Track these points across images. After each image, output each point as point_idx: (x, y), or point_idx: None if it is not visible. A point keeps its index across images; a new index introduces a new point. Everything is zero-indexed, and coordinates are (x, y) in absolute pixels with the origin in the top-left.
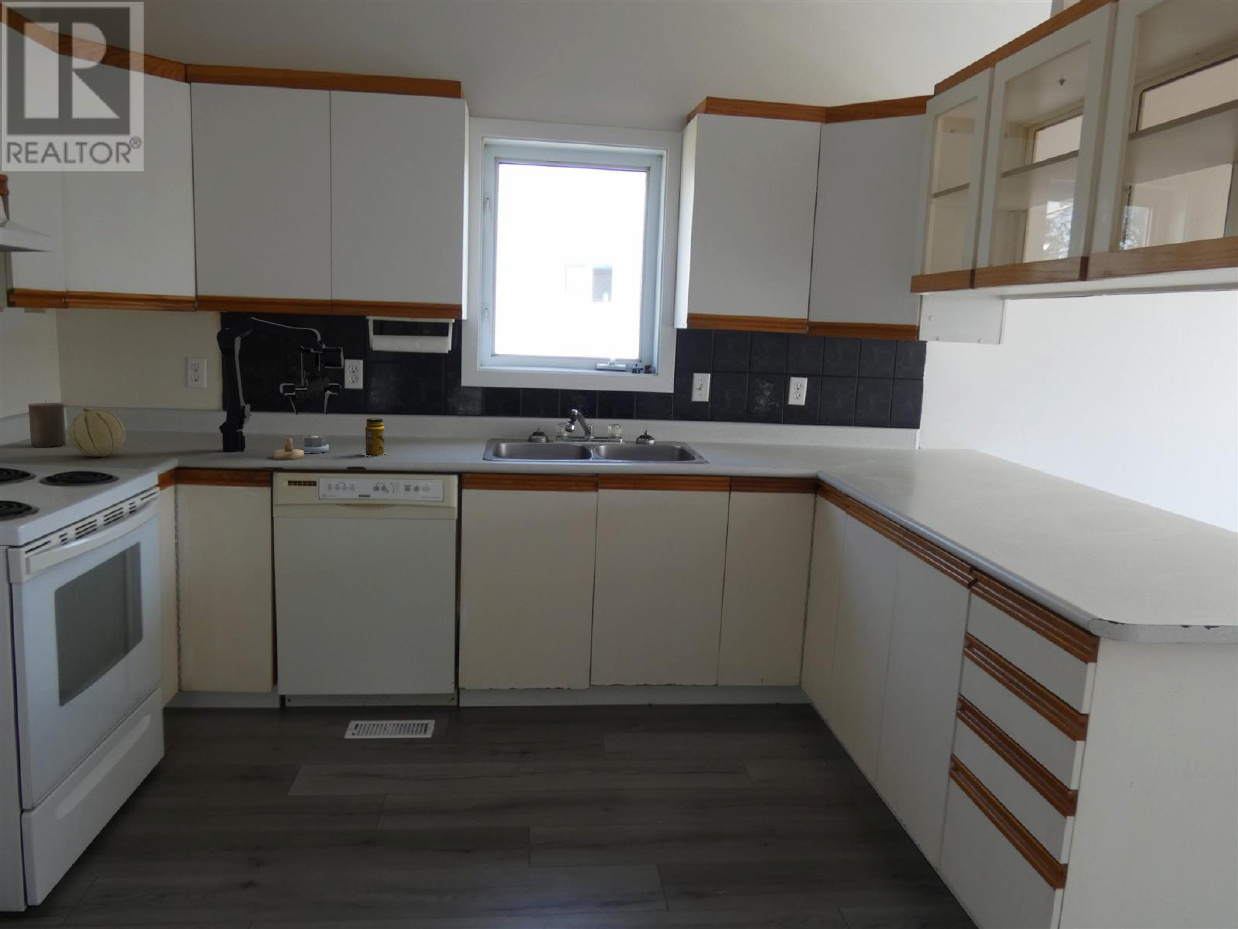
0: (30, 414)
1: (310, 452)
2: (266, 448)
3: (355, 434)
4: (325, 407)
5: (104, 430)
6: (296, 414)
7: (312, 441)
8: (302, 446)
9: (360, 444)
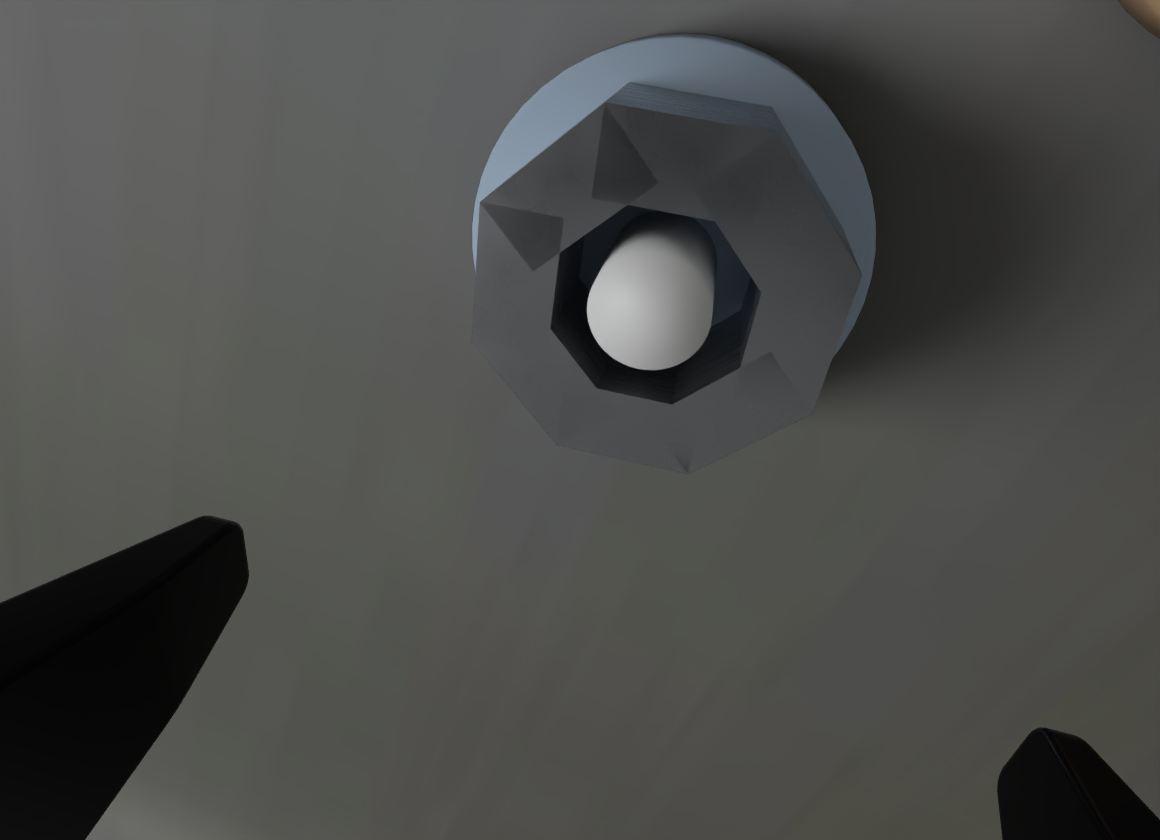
0: None
1: (805, 82)
2: (1009, 670)
3: (127, 822)
4: (90, 699)
5: None
6: (1076, 749)
7: (770, 118)
8: (858, 257)
9: (107, 458)
